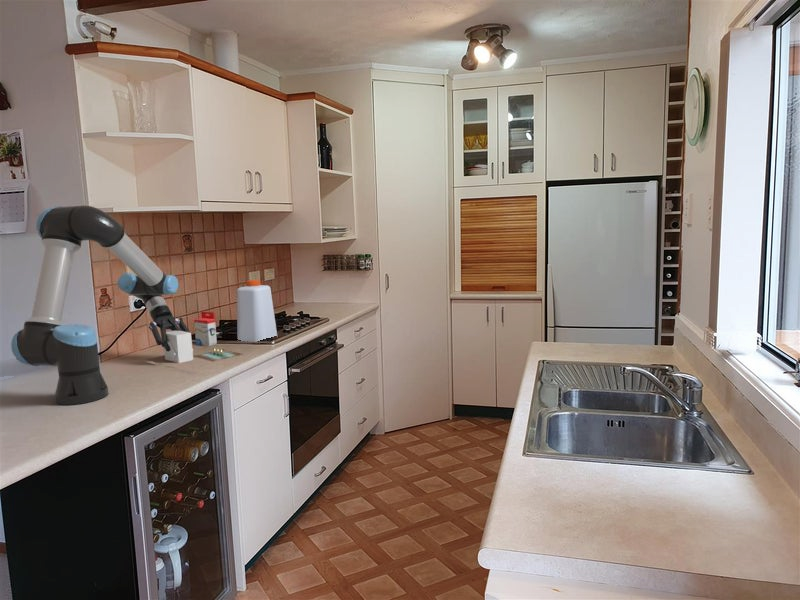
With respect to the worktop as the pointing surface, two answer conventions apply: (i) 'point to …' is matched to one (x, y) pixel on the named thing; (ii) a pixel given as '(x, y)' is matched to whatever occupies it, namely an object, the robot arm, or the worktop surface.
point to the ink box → (205, 329)
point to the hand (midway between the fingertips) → (183, 354)
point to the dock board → (216, 357)
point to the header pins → (217, 352)
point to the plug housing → (179, 346)
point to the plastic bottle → (255, 312)
